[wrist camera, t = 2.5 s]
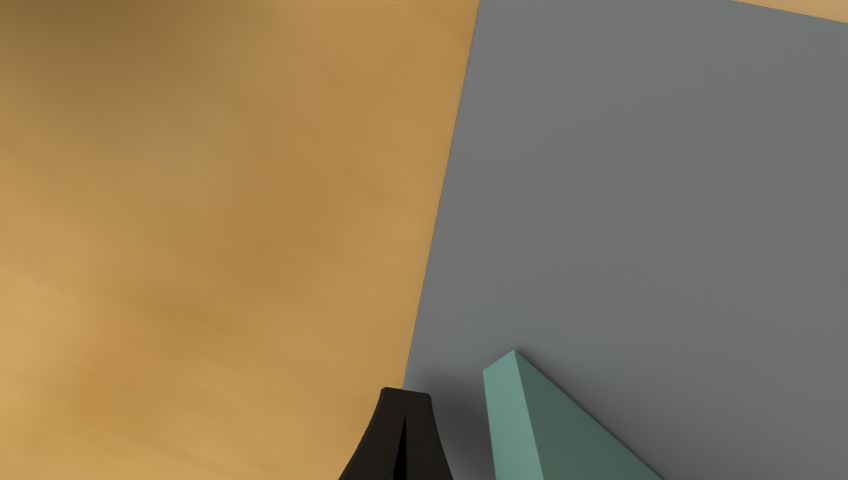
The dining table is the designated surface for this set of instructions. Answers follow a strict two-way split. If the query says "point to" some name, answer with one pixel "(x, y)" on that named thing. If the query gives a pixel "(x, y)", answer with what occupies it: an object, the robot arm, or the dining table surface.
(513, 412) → the gate
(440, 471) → the robot arm
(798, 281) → the slate mat
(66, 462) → the dining table surface
